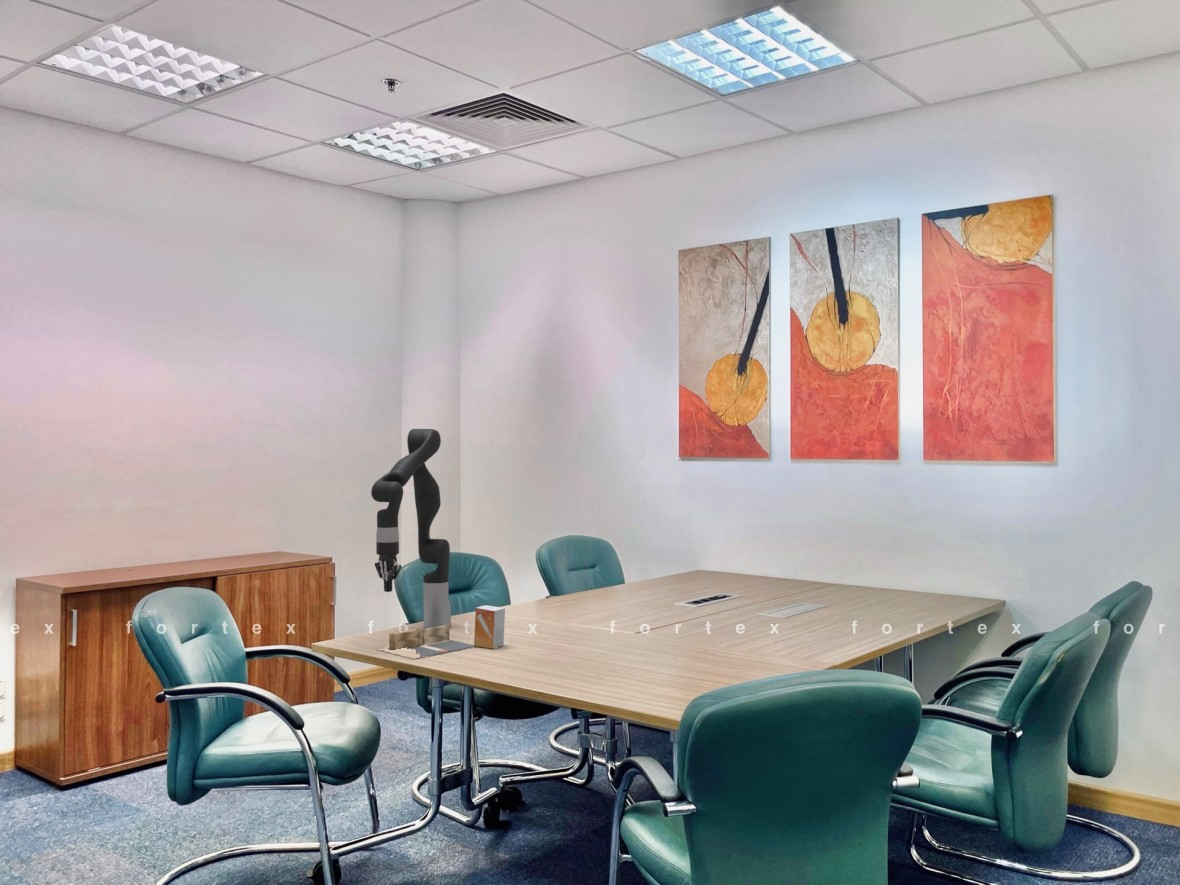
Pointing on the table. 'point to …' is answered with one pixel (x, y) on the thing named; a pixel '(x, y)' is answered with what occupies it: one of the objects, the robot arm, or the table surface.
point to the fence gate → (403, 640)
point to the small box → (489, 626)
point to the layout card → (440, 647)
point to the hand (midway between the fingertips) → (388, 591)
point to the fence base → (433, 635)
